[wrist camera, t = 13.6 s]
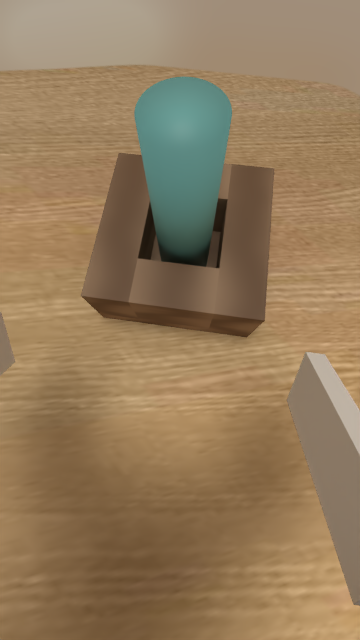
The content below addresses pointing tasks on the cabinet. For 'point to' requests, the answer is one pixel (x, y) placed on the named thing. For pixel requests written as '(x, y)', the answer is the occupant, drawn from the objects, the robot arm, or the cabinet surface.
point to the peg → (183, 162)
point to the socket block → (181, 279)
